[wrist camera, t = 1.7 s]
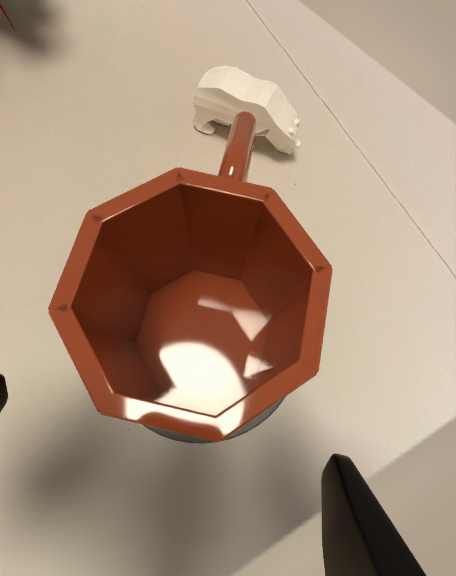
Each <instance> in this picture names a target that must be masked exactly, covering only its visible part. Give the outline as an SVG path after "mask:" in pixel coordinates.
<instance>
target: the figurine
mask: <svg viewBox="0 0 456 576" xmlns="http://www.w3.org/2000/svg"><path fill="white" fill-rule="evenodd" d="M193 104H194V107H195V109H196V115H195V117H194V118H193V119H192V121H193V123H194V126H195V127H196V129H197V130H199V131H201V132H203V133H208V134H210V133H212V132H214V130H215V129H214V128H213V127H212V126H210V125H209V124H208V123H207V122H209V121H211V120H214V121H215V122H216V123H219V124H223V125H225V126H228V125H229V124H231V125H232V123H233V119H234V117H235V116H236V115H237V114H238V113H239V112H242V111H248V112H250V113H252V114H253V115H254V117H255V119H256V131H255V136H266V138H267V139H268V140H269V141H270V142H271V143H272V144H273V145H274V147H275V148H276V149H277V150H278V151H280V152H282V153H286V154H291V152H292V151H291V150H292V149H295V148H298V147H299V145H300V141H299V140H298V137H297V133H298V129H299V123H300V122H301V119H298V118H297V114H296V112H295V110H294V109H293V108H292V106H291V105H290V103H289V102H288V101H287V99H286V98H285V96H284V94H283V92H282V91H281V89H280V87H279V86H278V85H276V84H274V83H272V82H270V81H266V80H261V79H256V78H254V77H252V76H250V75H249V74H247V73H245V72H243V71H242V70H240V69H238V68H236V67H235V66H220V67H213V68H210V69H209V70H208V71H207V72H206V73H205V74H204V76H203V78H202V79H201V81H200V83H199V85H198V86H197V90H196V96H195V99H194V103H193ZM215 131H216V130H215ZM212 134H213V133H212ZM210 135H211V134H210ZM254 147H255V146H254V144H253V149H255V148H254ZM291 148H292V149H291ZM253 149H252V150H253ZM292 153H293V152H292Z"/></svg>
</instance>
